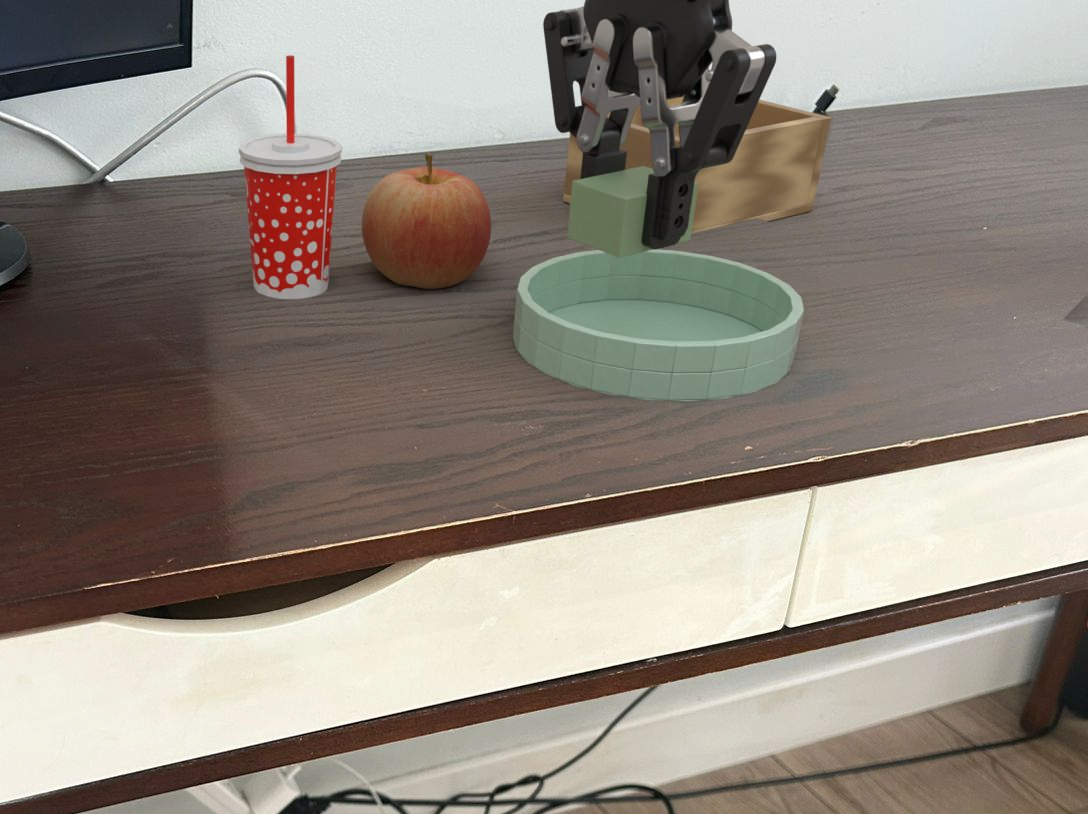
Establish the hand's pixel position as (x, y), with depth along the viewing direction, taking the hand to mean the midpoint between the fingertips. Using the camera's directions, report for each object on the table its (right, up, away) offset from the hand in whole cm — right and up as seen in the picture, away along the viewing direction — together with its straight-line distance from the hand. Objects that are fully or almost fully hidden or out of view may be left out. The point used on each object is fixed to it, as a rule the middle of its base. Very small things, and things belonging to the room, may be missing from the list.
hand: (628, 232), depth 72 cm
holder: (+11, +10, +29) cm, 32 cm away
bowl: (+2, -5, +5) cm, 8 cm away
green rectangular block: (0, 0, 0) cm, 0 cm away
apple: (-9, +1, +15) cm, 18 cm away
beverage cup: (-18, 0, +14) cm, 22 cm away
